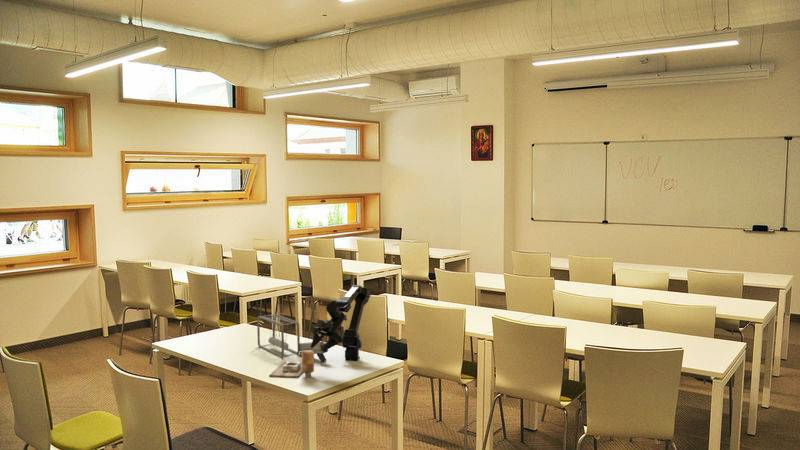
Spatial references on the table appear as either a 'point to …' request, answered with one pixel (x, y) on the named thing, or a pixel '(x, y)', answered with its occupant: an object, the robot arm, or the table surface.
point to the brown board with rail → (288, 370)
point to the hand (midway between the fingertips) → (317, 349)
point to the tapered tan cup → (307, 362)
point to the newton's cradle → (276, 341)
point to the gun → (314, 349)
